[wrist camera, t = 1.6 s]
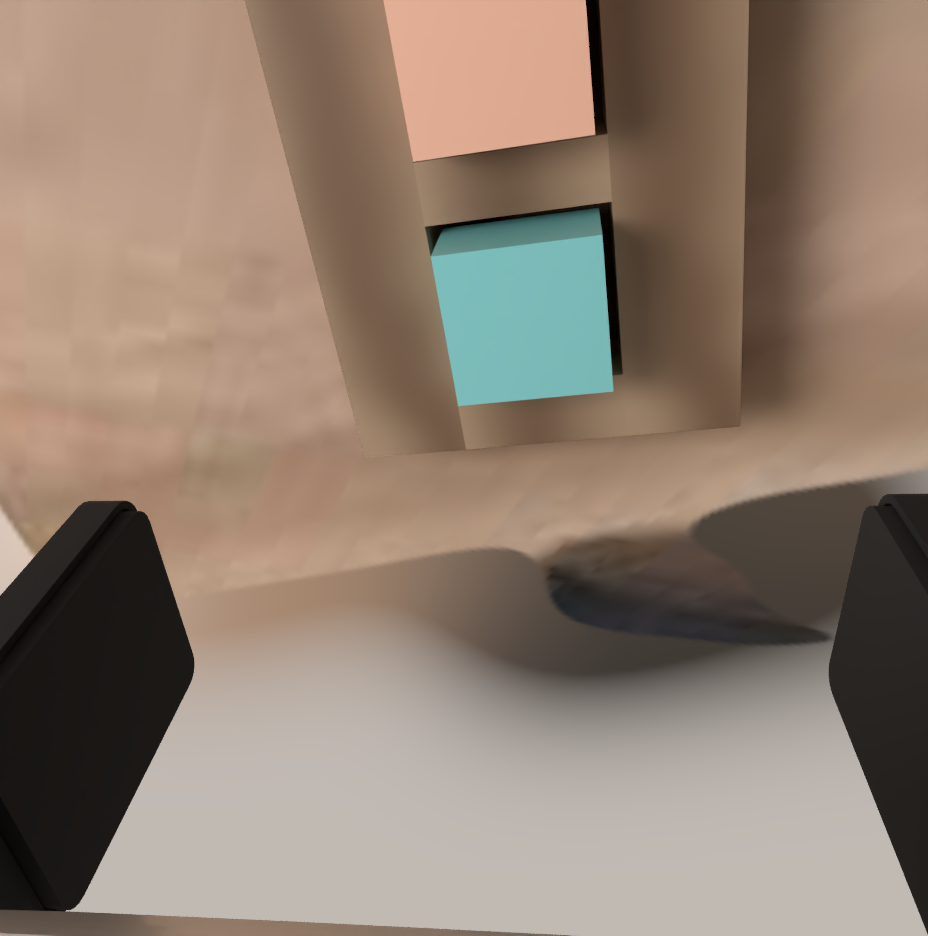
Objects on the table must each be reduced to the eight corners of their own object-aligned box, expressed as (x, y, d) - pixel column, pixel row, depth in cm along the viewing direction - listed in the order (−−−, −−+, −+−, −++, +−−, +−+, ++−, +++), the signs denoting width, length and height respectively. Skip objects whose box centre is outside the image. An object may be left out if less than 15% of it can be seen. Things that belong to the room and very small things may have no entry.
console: (737, -724, 18) (766, -837, 15) (726, 388, 31) (740, 426, 29) (146, -535, 20) (86, -604, 17) (379, 420, 34) (364, 458, 31)
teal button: (598, 207, 26) (602, 234, 24) (609, 353, 29) (613, 391, 27) (442, 228, 27) (430, 256, 25) (467, 368, 30) (458, 406, 27)
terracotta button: (577, -86, 22) (579, -90, 20) (592, 116, 25) (595, 134, 22) (394, -50, 23) (373, -50, 21) (427, 141, 26) (412, 161, 23)
